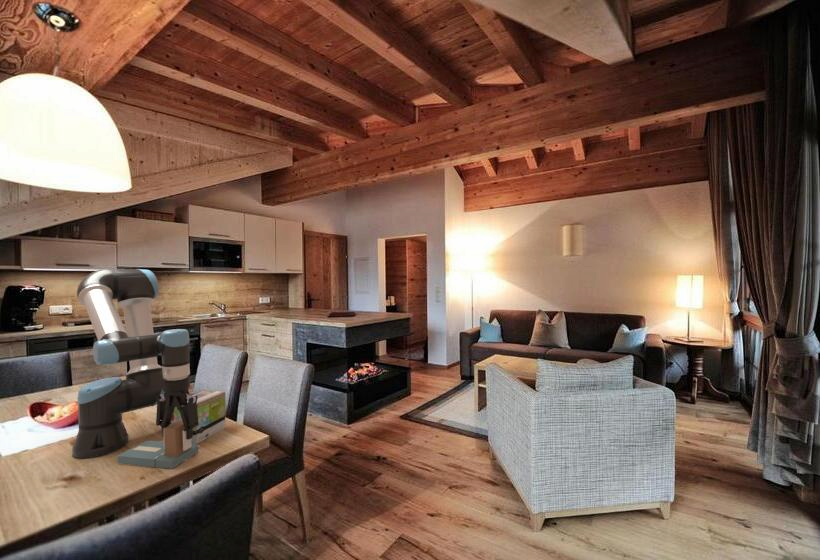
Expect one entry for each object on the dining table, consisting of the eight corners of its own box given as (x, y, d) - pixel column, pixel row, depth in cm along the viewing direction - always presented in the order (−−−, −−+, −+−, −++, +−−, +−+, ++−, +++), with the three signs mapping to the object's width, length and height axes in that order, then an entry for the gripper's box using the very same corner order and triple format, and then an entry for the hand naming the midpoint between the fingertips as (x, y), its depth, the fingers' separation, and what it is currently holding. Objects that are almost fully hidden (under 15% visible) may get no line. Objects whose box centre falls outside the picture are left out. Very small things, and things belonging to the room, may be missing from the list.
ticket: (117, 463, 118) (117, 455, 118) (147, 447, 129) (147, 440, 128) (154, 467, 115) (154, 459, 115) (182, 450, 126) (182, 443, 126)
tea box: (197, 445, 130) (196, 404, 130) (173, 443, 132) (172, 402, 132) (226, 427, 145) (225, 390, 144) (204, 426, 147) (203, 389, 146)
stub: (155, 466, 115) (154, 431, 115) (183, 450, 126) (182, 417, 126) (172, 468, 114) (171, 432, 114) (198, 451, 125) (198, 418, 125)
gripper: (140, 379, 118) (142, 450, 118) (193, 382, 114) (194, 455, 114) (160, 373, 125) (162, 440, 125) (210, 375, 121) (212, 444, 122)
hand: (177, 447), depth 120 cm, fingers open, 6 cm apart
